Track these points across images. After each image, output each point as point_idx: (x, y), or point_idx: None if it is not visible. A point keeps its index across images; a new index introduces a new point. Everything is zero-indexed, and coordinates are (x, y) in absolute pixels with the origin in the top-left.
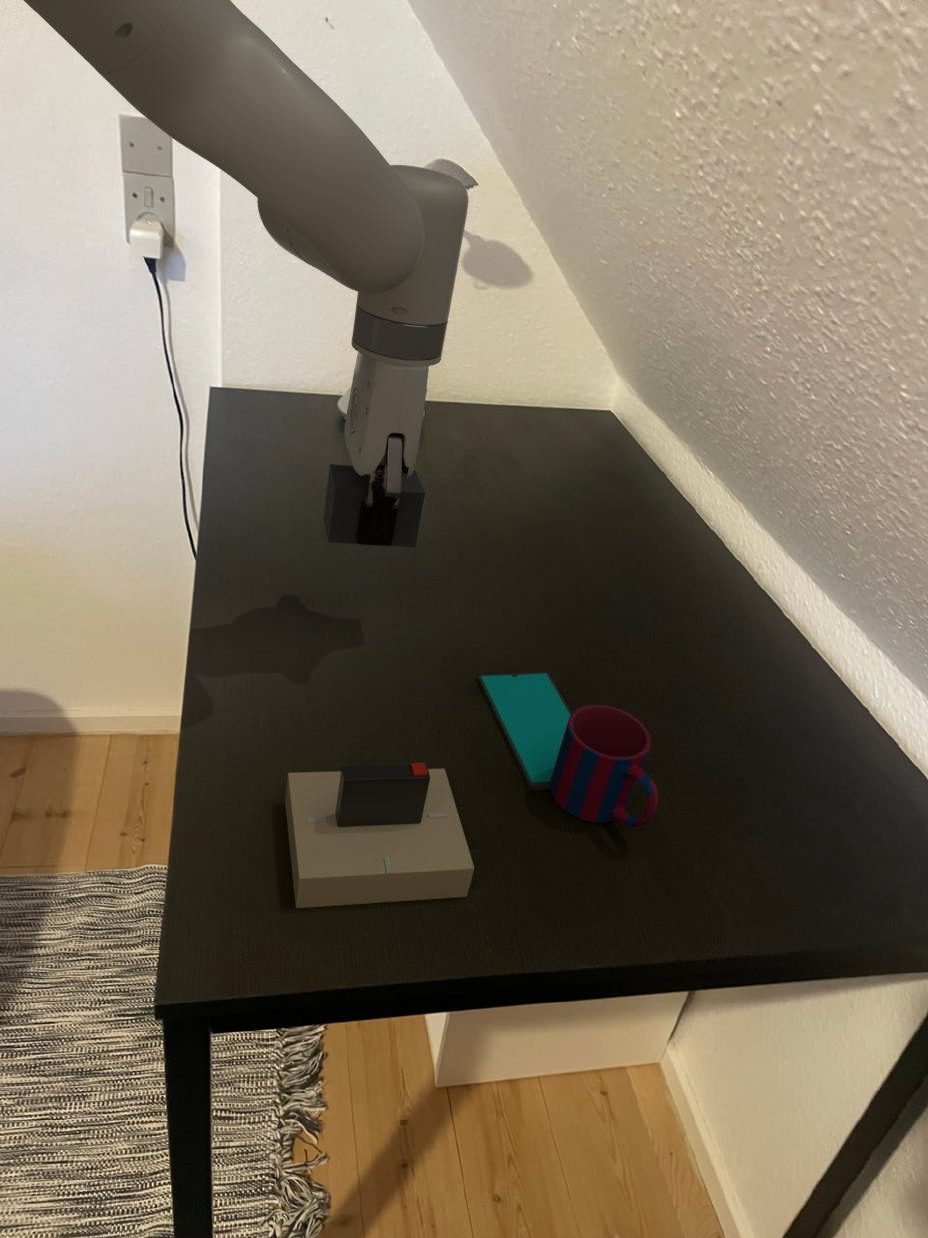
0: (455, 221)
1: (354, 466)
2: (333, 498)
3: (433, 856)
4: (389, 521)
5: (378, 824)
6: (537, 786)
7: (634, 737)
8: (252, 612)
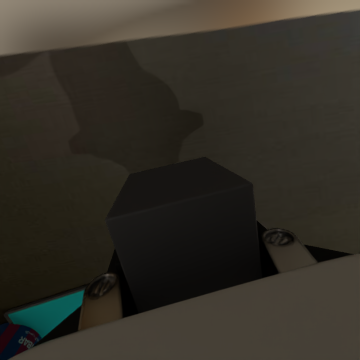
0: None
1: (36, 356)
2: (121, 200)
3: None
4: None
5: None
6: (5, 317)
7: None
8: (166, 88)
